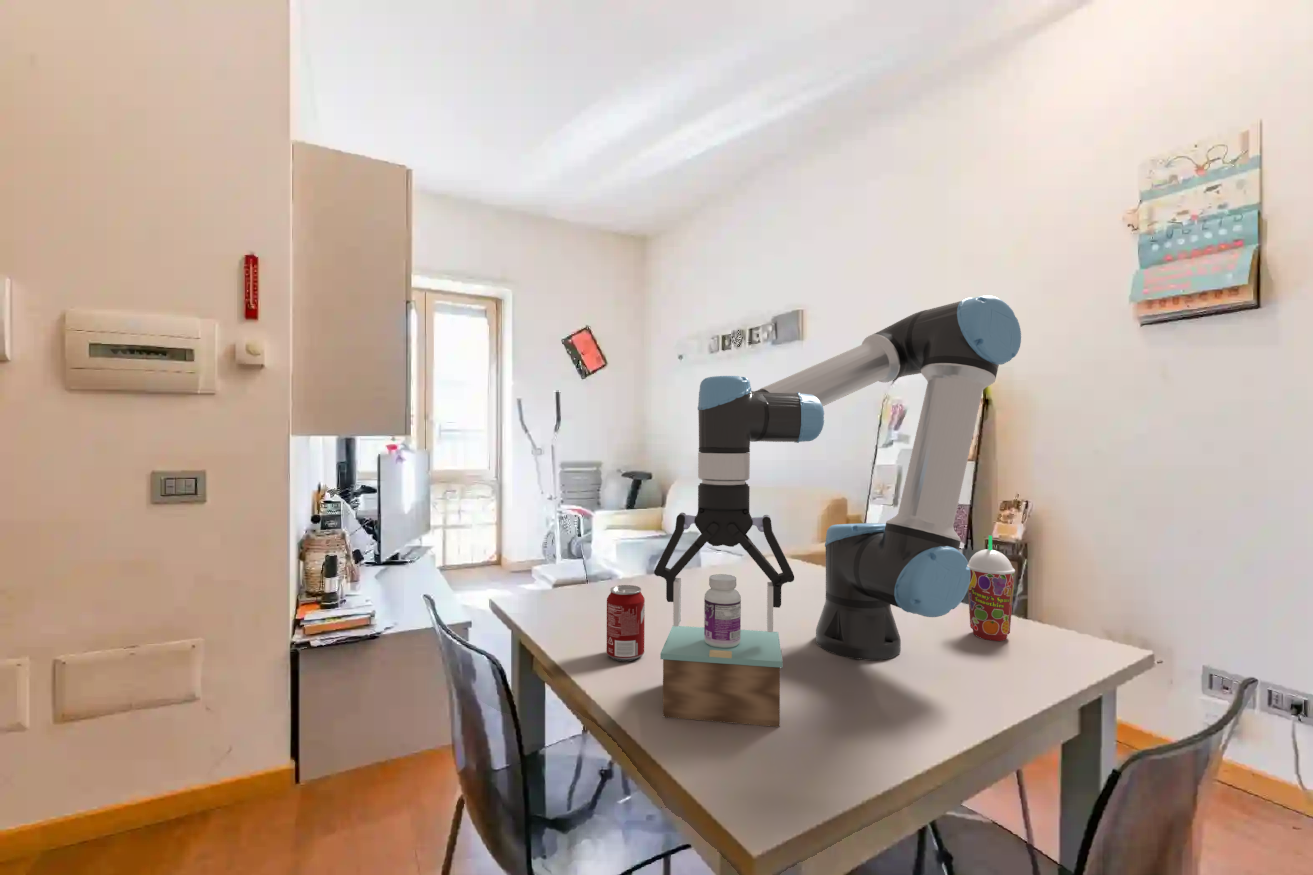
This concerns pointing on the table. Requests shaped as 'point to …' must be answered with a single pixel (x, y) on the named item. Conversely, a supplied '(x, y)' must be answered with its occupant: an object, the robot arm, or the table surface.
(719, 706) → the keepsake box
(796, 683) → the table surface
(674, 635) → the lid
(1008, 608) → the smoothie
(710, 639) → the pill bottle
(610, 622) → the soda can
